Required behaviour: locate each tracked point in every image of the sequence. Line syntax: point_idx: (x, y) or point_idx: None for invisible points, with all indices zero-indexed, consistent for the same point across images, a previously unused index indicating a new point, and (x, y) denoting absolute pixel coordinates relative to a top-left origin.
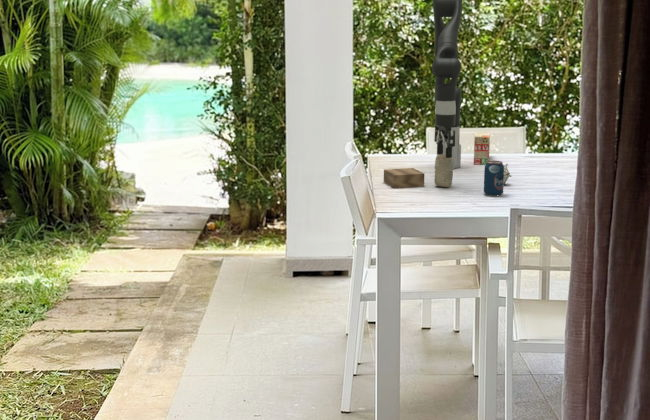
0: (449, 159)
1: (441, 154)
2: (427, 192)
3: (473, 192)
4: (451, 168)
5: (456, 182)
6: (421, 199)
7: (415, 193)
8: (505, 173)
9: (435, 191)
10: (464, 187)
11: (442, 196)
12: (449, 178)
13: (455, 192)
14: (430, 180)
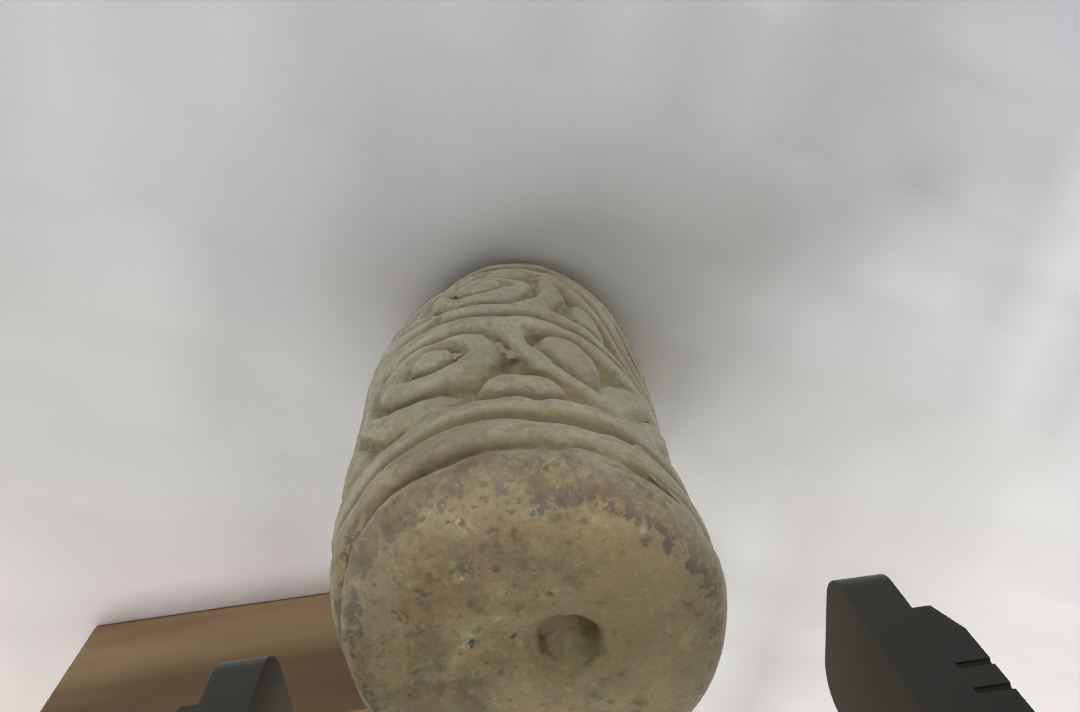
0: (707, 536)
1: (383, 698)
2: (785, 591)
3: (961, 55)
4: (595, 372)
5: (220, 95)
6: (1066, 691)
7: (797, 700)
8: None
9: (759, 505)
10: (607, 82)
11: (1025, 489)
12: (631, 355)
13: (881, 298)
14: (70, 427)
